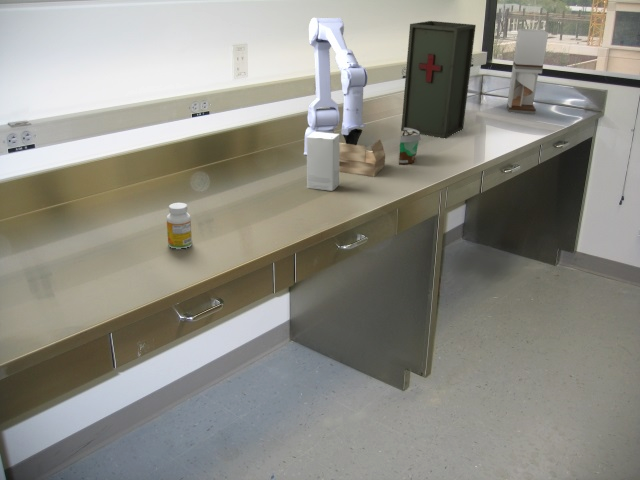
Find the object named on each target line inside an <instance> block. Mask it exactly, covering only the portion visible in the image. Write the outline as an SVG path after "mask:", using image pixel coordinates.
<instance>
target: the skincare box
mask: <svg viewBox="0 0 640 480" xmlns="http://www.w3.org/2000/svg"><path fill="white" fill-rule="evenodd" d="M340 137H341V134H340V133H335V132H334V133H322V132H313V133H312V134H310V135H309V136H308V137H307V155H306V188H307V189H312V190H322V191H327V192H328V191H329V192H333V191H334V190H336V189H337V187H338V186H339V185H340V172H339V155H340V143H341V142H340V140H341V138H340Z"/></svg>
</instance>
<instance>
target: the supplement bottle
mask: <svg viewBox="0 0 640 480" xmlns="http://www.w3.org/2000/svg"><path fill="white" fill-rule="evenodd" d="M168 210H169V211H168V212H169V214H167V216H166V230H167V231H166V232H167V233H166V234H167V244H168V246H169V248H170V247H171V249H172V248H176V249H175V250H182V249H181V248H186V249H188V248H187V247H189V248H190V247H191V246H192V245H193V234H192V218H191V214H189V213H188V204H187V203H185V202H174V203H171V204H169V205H168Z"/></svg>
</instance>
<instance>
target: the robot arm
mask: <svg viewBox="0 0 640 480" xmlns="http://www.w3.org/2000/svg"><path fill="white" fill-rule="evenodd" d="M344 25H345V24H344V22H343V19H342V17H327V18H326V17H325V18H324V17H322V18H321V17H312V19H311V20H310V22H309V25H308V37H309V44H310V46H311V47H313V52H314V53H313V54H314V76H315V97H316V98H315V99H314V100H313V101H312V102H311V103H310V104H309V105H308V109H307V110H308V111H307V124H308V125H309V126H307V128H306V129H305V134H304V152H303V155H304V156H305V155H306V156H307V137H308V136H309V135H310V134H312V133H313V132H322V133H334V134H335V130H337V127H338V126H339V124H340V122H341V113H340V111H339V110H340V109H339V104H338V103H337V102H336V101H334V100H333V98H332V87H331V84H332V83H331V61H330V60H331V59H330V58H331V57H330V56H331V55H330V50H331V48H332V49H333V51H334V52H335V54H336V55H335V57H334V59H335V62H336V65H337V66H338V69H339V71H340V73H341V74H340V75H341V76H340V81H341V87H342V90H341V91H342V93H343V107H342V108H343V110H342V111H343V113H342V123H341V131H340V132H341V134H340V135H342V136H343V138H344V141H345V144H353V145H358V142H359V140H360V137H361V135H362V133H363V129H362V128H365V127H366V126H367V125H366V123H363V110H364V109H363V108H364V107H363V106H364V105H363V104H364V103H363V102H364V88H365V87H366V86H367V84H368V71H367V70H366V67H364V66H362V65H361V64H359V62H358V61H357V58H356V56H355V54H354V52H353V50H352V49H349V48H347V46H348V45H347V44H346V41H345V38H344V32H345V26H344ZM360 128H361V129H360Z"/></svg>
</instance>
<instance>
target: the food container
mask: <svg viewBox="0 0 640 480" xmlns="http://www.w3.org/2000/svg"><path fill="white" fill-rule="evenodd" d="M421 139H422V138H421V134H420V133H419V131H417V130H415V129H411V128H404V131H402V134H401V135H400V139H399V140H400V141H399V143H400V144H399V156H398V157H399V158H398V166H410V165H414V164H415V163H416V158H417V153H418V152H417V151H418V146H419V141H421Z"/></svg>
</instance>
